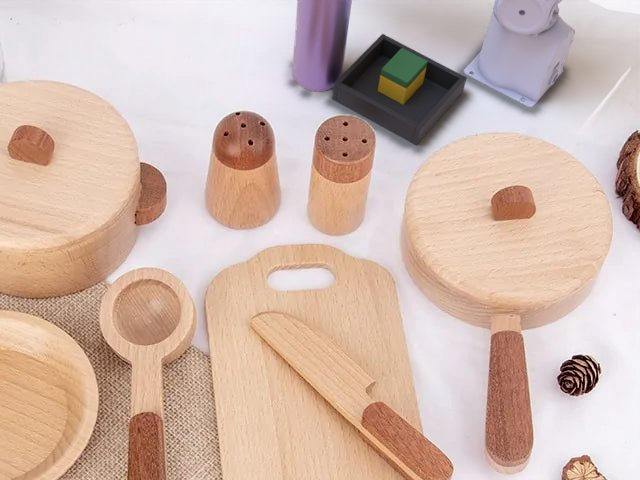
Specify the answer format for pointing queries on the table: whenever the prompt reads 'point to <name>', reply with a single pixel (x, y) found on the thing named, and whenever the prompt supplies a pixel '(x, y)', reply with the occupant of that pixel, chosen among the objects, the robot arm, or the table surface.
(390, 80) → the sponge
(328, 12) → the beverage can
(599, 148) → the table surface
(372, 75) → the tray
